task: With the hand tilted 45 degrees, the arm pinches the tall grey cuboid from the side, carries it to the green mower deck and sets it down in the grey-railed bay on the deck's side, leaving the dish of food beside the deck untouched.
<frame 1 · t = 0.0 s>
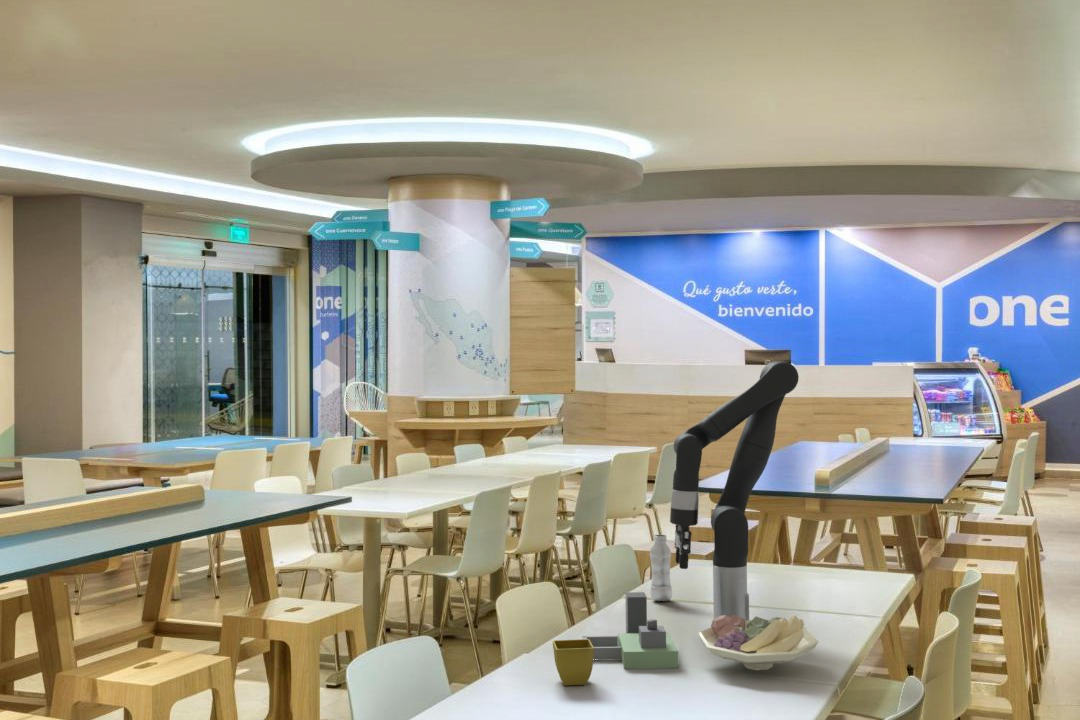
hand: (681, 565, 309), 17 cm above the table, tool pointing down, fingers open, 8 cm apart
deck: (647, 658, 279), on the table
flower pot: (573, 683, 259), on the table
dish with food: (757, 667, 270), on the table
tall grey cuboid: (636, 640, 297), on the table
plastic bottle: (661, 601, 344), on the table
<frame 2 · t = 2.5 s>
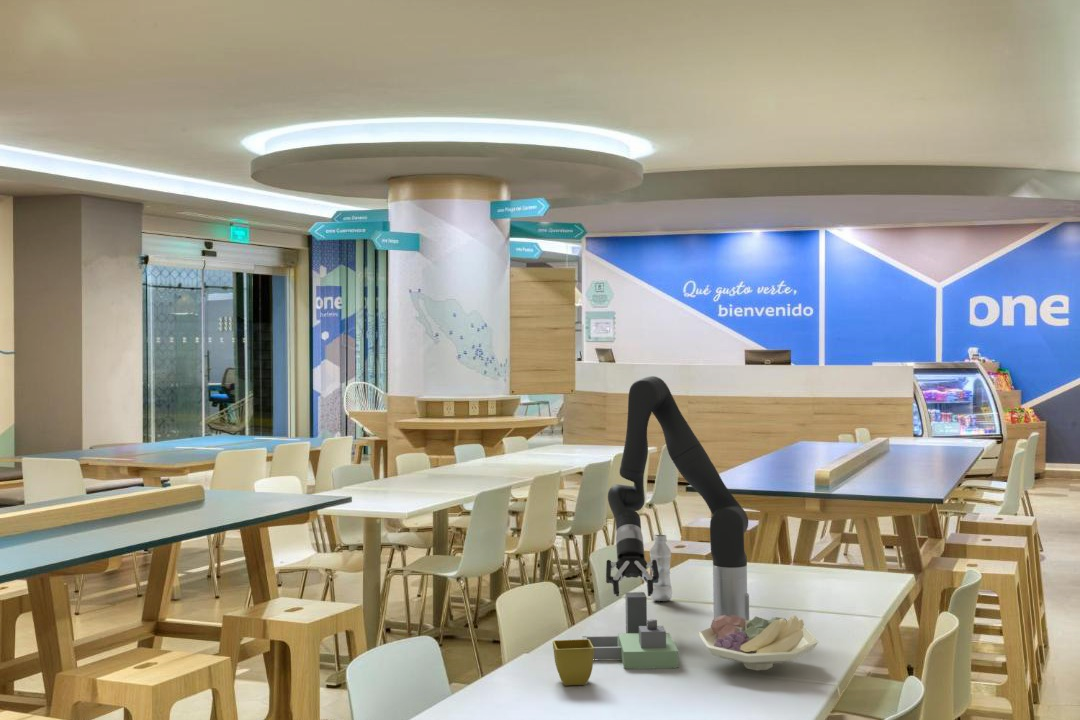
hand: (633, 594, 302), 11 cm above the table, tool tilted 45°, fingers open, 8 cm apart
nothing on the table moved.
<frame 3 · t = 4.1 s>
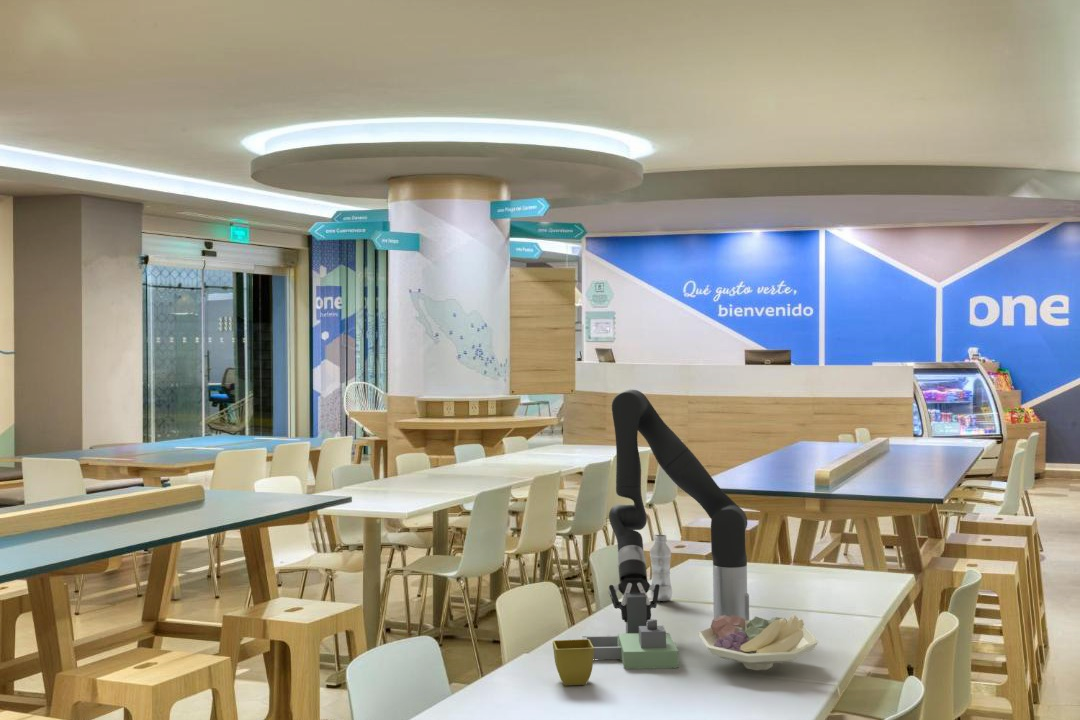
hand: (636, 620, 295), 6 cm above the table, tool tilted 45°, fingers closed on tall grey cuboid, 5 cm apart
tall grey cuboid: (636, 640, 297), on the table, touching gripper
everything else where it was.
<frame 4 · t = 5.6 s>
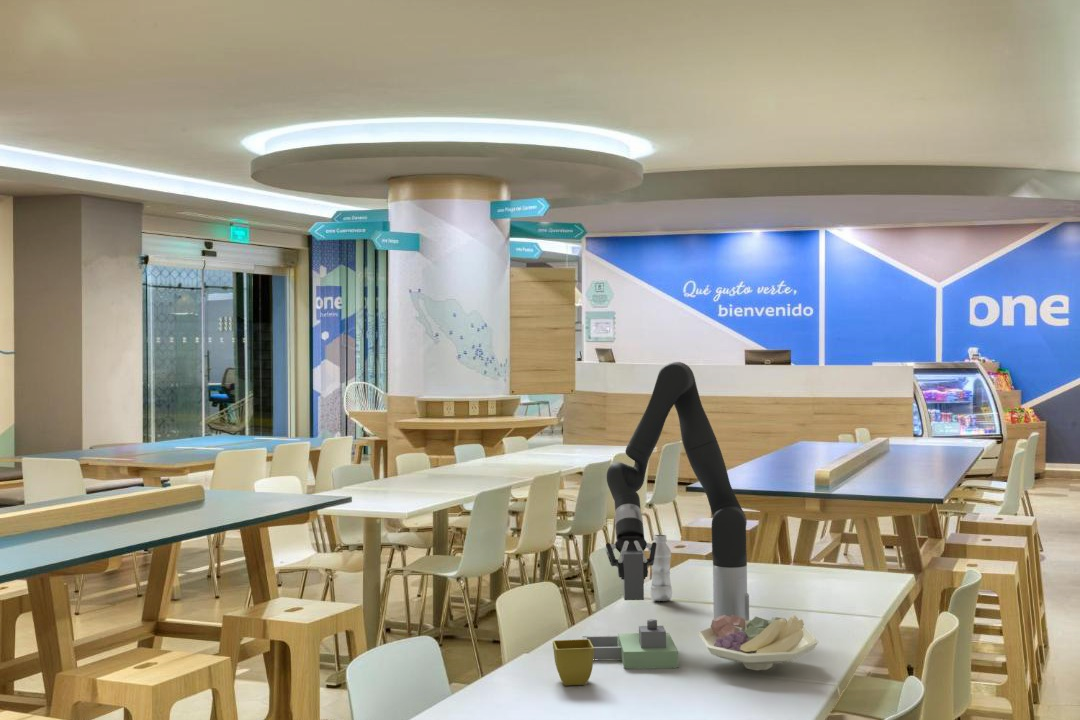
hand: (633, 577, 295), 17 cm above the table, tool tilted 45°, fingers closed on tall grey cuboid, 5 cm apart
tall grey cuboid: (633, 597, 297), point 11 cm above the table, touching gripper
everything else where it was.
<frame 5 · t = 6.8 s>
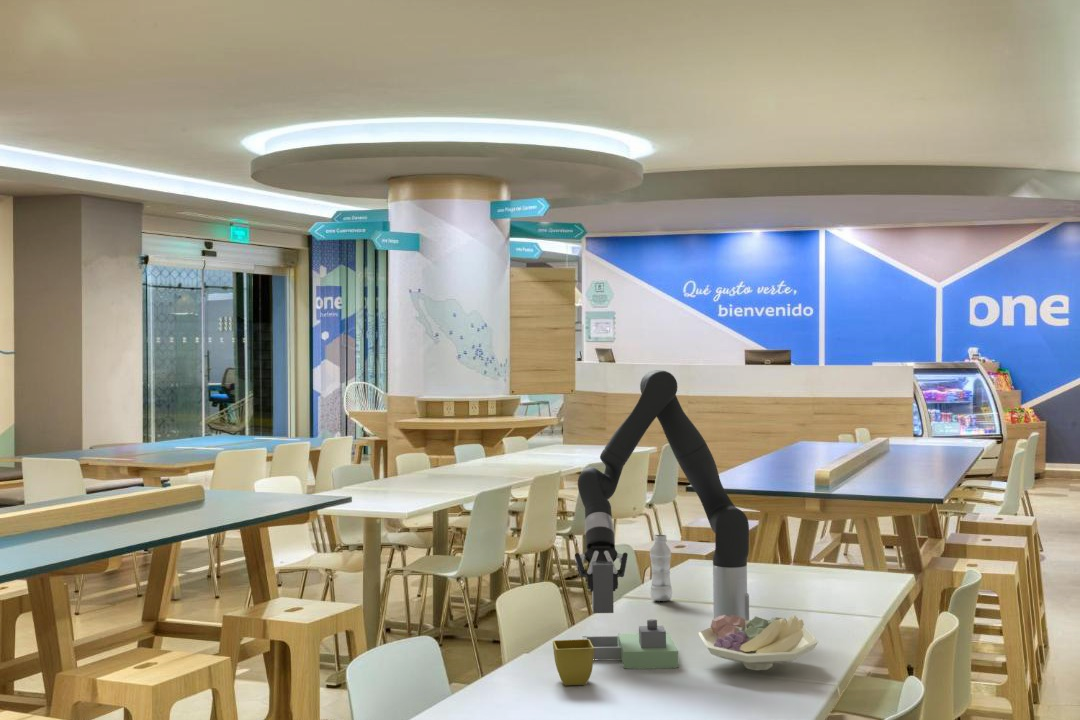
hand: (603, 589, 282), 17 cm above the table, tool tilted 45°, fingers closed on tall grey cuboid, 5 cm apart
tall grey cuboid: (602, 610, 284), point 11 cm above the table, touching gripper
everything else where it was.
when the fingers open (8 cm above the table, at t = 8.8 s): tall grey cuboid drops 2 cm, resting in deck.
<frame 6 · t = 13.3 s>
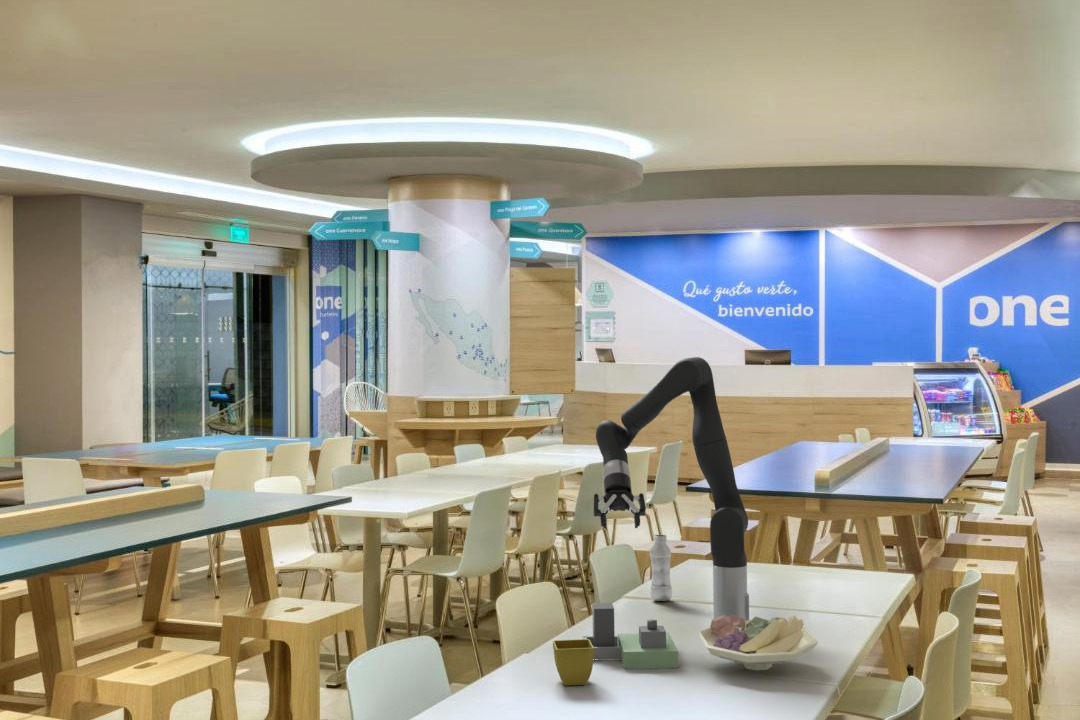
hand: (620, 526, 306), 29 cm above the table, tool tilted 45°, fingers open, 8 cm apart
tall grey cuboid: (603, 653, 284), resting in deck
everything else where it was.
at the end: tall grey cuboid inside the target area on the deck (0.4 cm from its centre), point 0.0 cm above the deck's base; tall grey cuboid tilted 0°; dish with food moved 0.3 cm from its start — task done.
